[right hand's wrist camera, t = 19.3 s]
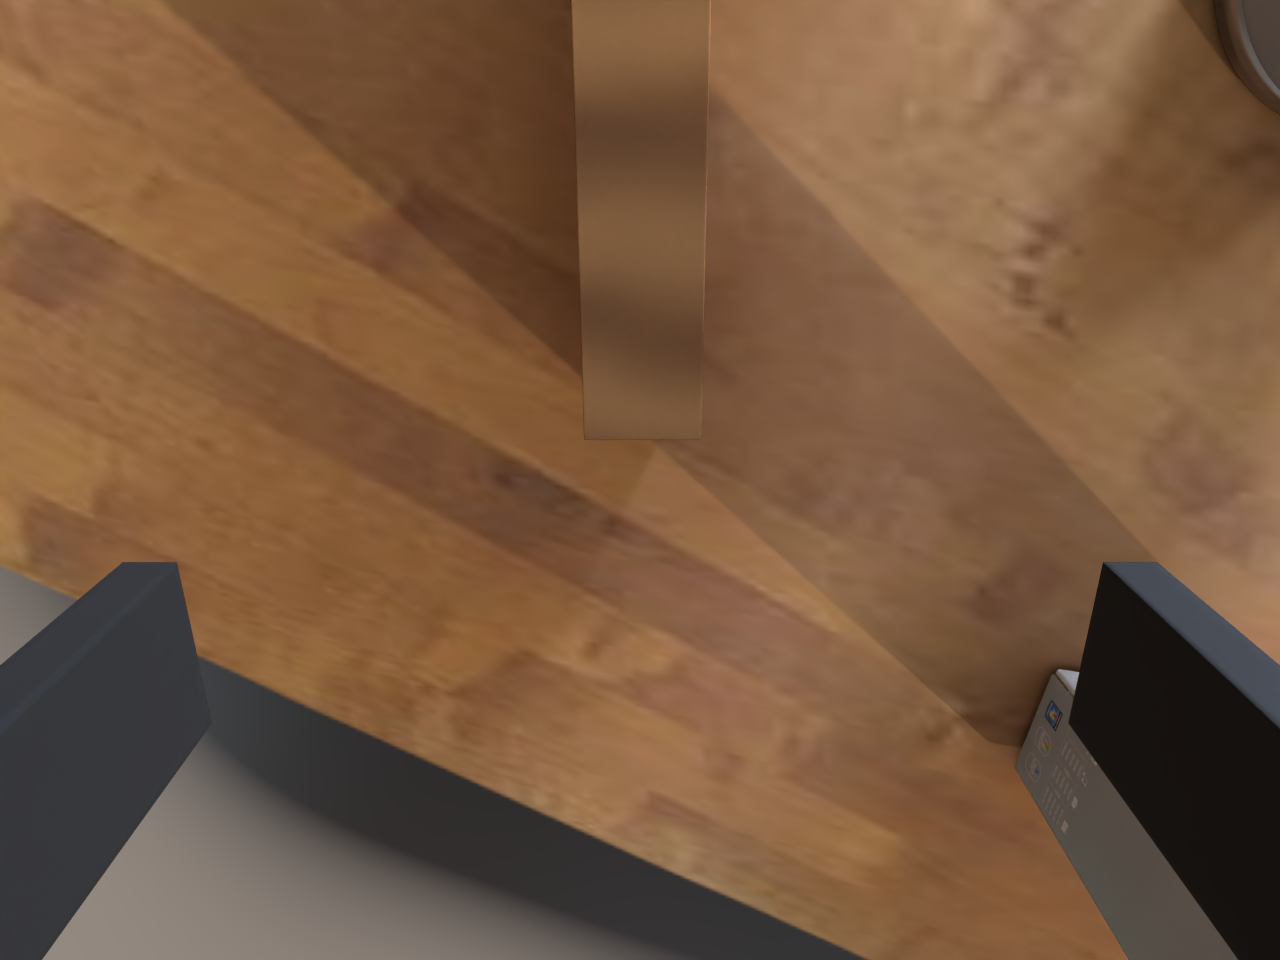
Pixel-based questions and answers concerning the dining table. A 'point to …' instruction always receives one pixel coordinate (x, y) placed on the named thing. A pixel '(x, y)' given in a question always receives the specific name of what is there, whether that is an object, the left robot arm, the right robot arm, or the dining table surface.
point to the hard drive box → (1110, 841)
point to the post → (641, 213)
